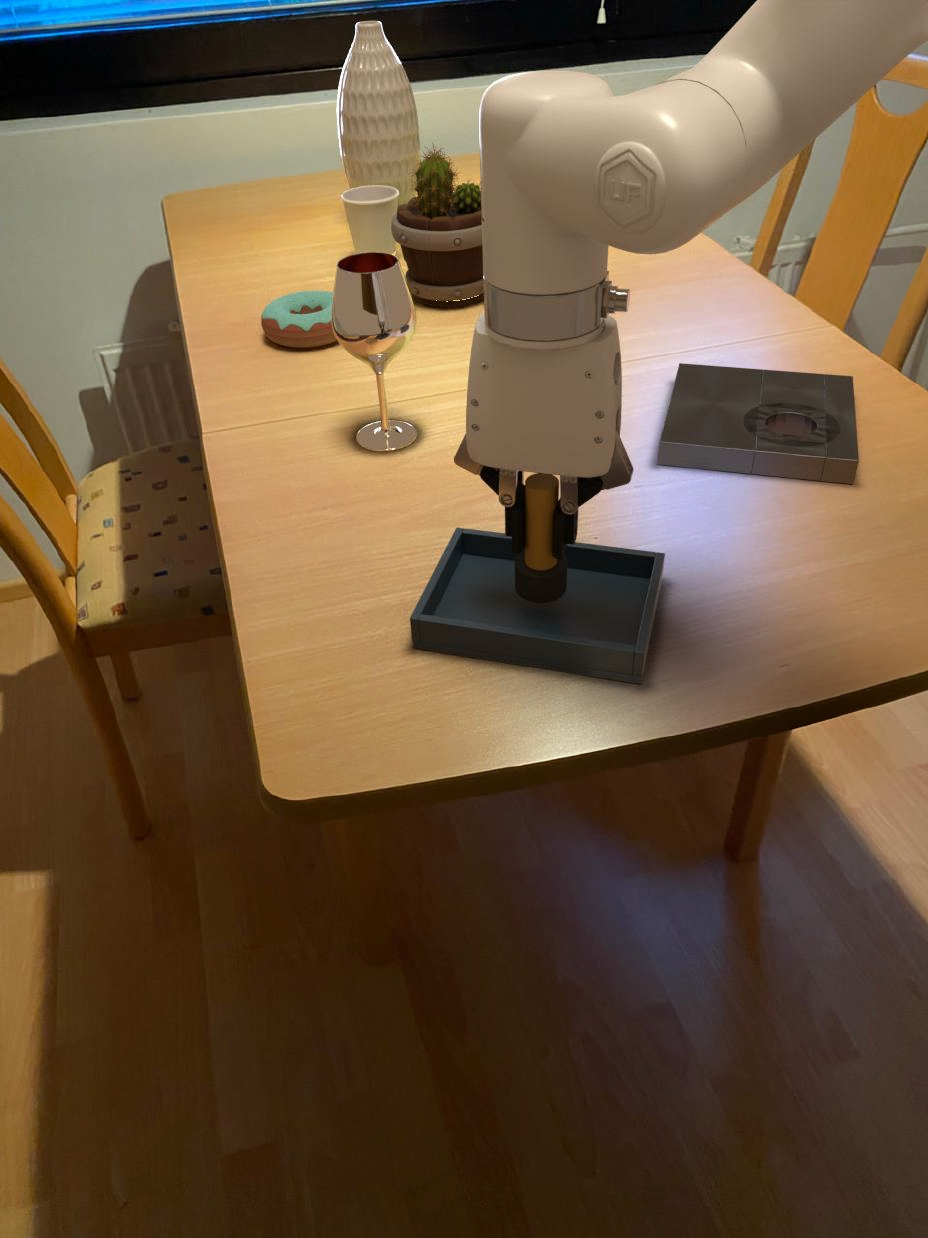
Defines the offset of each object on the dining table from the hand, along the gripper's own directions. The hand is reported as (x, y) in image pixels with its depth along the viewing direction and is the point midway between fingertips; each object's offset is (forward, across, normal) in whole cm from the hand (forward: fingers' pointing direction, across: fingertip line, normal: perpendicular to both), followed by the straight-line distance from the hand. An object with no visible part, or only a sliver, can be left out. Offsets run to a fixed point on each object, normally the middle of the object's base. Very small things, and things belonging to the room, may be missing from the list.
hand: (541, 544), depth 69 cm
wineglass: (+7, +22, -25) cm, 34 cm away
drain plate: (+7, -15, -34) cm, 38 cm away
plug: (+4, 0, 0) cm, 4 cm away
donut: (+7, +41, -49) cm, 64 cm away
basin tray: (+7, 0, 0) cm, 7 cm away
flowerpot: (+7, +27, -65) cm, 71 cm away
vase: (+7, +47, -95) cm, 106 cm away
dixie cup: (+7, +42, -75) cm, 86 cm away
